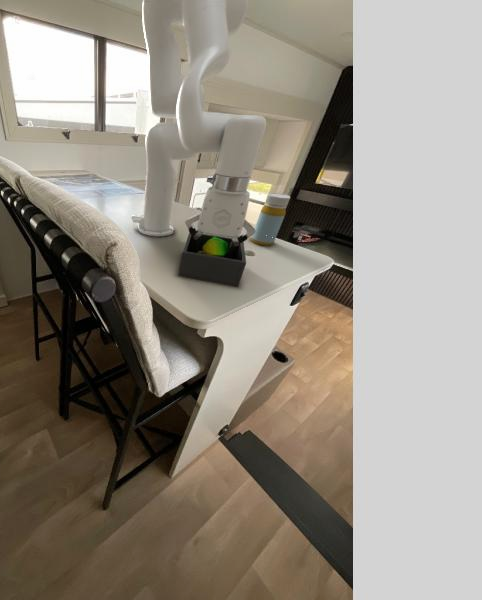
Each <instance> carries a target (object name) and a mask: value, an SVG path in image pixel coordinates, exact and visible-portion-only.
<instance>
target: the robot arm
mask: <svg viewBox="0 0 482 600" xmlns="http://www.w3.org/2000/svg"><path fill="white" fill-rule="evenodd" d="M248 6H249V0H142V11H141V12H142V14H141V15H142V28H143V34H144V39H145V40H144V41H145V44H146V50H147V60H148V63H147V65H148V95H149V96H148V98H149V108H150V109H149V110H150V112H151V115H153V116H155V117H157V118H162V119H176V122H168V121H164V122H157V123H154V124H153V125H151V126H150V127H149V128H148V129H147V131H146V134H145V141H144V144H145V157H146V160H145V161H146V169H145V170H146V172H145V174H146V175H145V188H144V203H143V215H140V216H139V215H134V214H132V215H131V221H132V223H135V224H138V225H137V230H138V231H139V233H141V234H143V235H146V236H150V237H159V238H160V237H167V236H170V235H172V234H173V233H174V230H175V229H174V227H173V225H171V219H172V211H173V203H174V196H175V189H176V182H177V174H176V170H175V168H174V166H173V163H172V162H174V161H190V160H194V159H196V158H197V157H198V155H199V154H218V157H217V163H216V167H215V172H214V173H213V174H211V175H207V176H206V177H207V178H206V183H209V184H211V186H209V188H208V189H207V190H206V194H205V196H204V199H203V202H202V206H201V208H200V209H201V210H200V212H198V213H197V214H194V215H193V216H191V217H188V218H187V219H185V221H184V224H185V226H186V228H187V230H188V233H189V232H190V234H191V235H192V236H193V239H194V243H193V248H192V250H195V251H194V253H197V250H198V246H199V241H200V236H201V235H202V234H208V235H215V236H222V237H228V238H232V242H231V243H230V246H229V250H228V253H227V258H229V259H230V258H231V256H234V253H235V250H236V247H237V246H238V245H239V244H241V243H242V242H244V243H245V242H246V241H247V240H248V239H249V238H252V235H253V234H254V233H255V227H254V226H253V225H252V224H251V223H249V221H247V220H246V216H247V213H248V207H249V204H250V203H249V202H250V192H249V191H248V188H249V184H250V181H251V178H252V174H253V171H254V168H255V164H256V162H257V157H258V154H259V151H260V148H261V144H262V141H263V138H264V135H265V131H266V127H267V119H266V118H265V117H264V116H263V115H256V114H234V113H226V112H225V113H223V112H213V111H205V108H206V105H205V104H206V93H205V92H206V91H205V89H204V83H205V82H208V81H209V80H211V79H213V78H214V77H217V75H219V74H220V73H221V72H223V70H224V69H225V68H226V66H227V64H229V60H230V57H231V46H230V38H229V37H231V36H233V35H235V34H236V33H237V32H238V30H239V29H240V28H241V27H242V25H243V22H244V20H245V18H246V15H247V12H248ZM172 24H177V25H181V26H183V31H184V39H185V47H186V54H187V62H188V71H187V73H186V75H183V74H182V71H181V57H182V56H181V47H180V43H179V41H178V38H177V36H176V33H175V32H174V30H173V28H172ZM197 221H198V222H197ZM196 222H197V229H196V228H195V226H194V225H193V223H196ZM243 228H244V229H245V230H246V231H245V233H243V234H242V231H243Z"/></svg>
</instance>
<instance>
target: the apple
mask: <svg viewBox="0 0 482 600" xmlns="http://www.w3.org/2000/svg"><path fill="white" fill-rule="evenodd" d="M202 248H203V251H198V252H197V253H199V254H202V253H203V254H205V255H211V256H217V257H224V256H225V255H226V254H227V253H228V243H227V242H225V241H223V240H221V239H219V238H216V237H213V238H211V239H210V240H208V241H207V242H206V243H205V245H204V246H203V247H202Z"/></svg>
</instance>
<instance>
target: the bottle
mask: <svg viewBox="0 0 482 600" xmlns="http://www.w3.org/2000/svg"><path fill="white" fill-rule="evenodd" d="M290 200H291V196H290V195H288V194H285V193H279V192H269V193H268V194H267V196H266V199H265V202H264V205H263V206H262V208H261V210H260V212H259V214H258V218H257V220H256V223H255V226H254V229H255V233H254V234H253V235H252V236H251V237H250V238H251V241H252V242H253V243H254V244H256V245H259V246H264V247H265V246H267V247H268V246H272V245H273V244H275V241H276V239H275V238H277V236H278V234H279V231H280V228H281V226H282V224H283V221H284V219H285V216H286V211H287V207H288V205H289V202H290ZM266 235H267V236H266ZM272 237H273V238H272Z"/></svg>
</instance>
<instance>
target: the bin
mask: <svg viewBox="0 0 482 600" xmlns="http://www.w3.org/2000/svg"><path fill="white" fill-rule="evenodd" d="M213 237H216V238H219V239H221V240H223V241H225V242H227V243H228V250H229V246H230V243H231V242H232V238H231V237H223V236H216V235H210V234H204V233H203V234H202V235H201V236H200V241H199V246H198V250H197V252H198V251H203V248H202V247H203V246H204V245H205V243H206V242H207V241H208V240H210V239H211V238H213ZM193 243H194V239H193V236H192V235H191V234H190V232H189V231H188V235H187V238H186V240H185V244H184V245H183V246H184V247H183V249H182V251H181V252H182V253H181V257H180V263H179V269H178V273H177V274H178V275H177V276H178V277H183V278H188V279H195V280H198V281H199V280H200V281H204V282H210V283H215V284H220V285H226V286H230V287H231V286H232V287H235V288H236V287H237V288H238V287H239V285H240V282H241V280H242V277H243V274H244V271H245V269H246V265H247V256H246V251H245V241H244V242H242V243H241V244H239V245H238V246H237V247H236V250H235V253H234V256H231V258H230V259H229V258H227V254H226V255H225V256H224V257H217V256H211V255H205V254H203V253H202V254H199V253H194V251H195V250H192V248H193Z"/></svg>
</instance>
